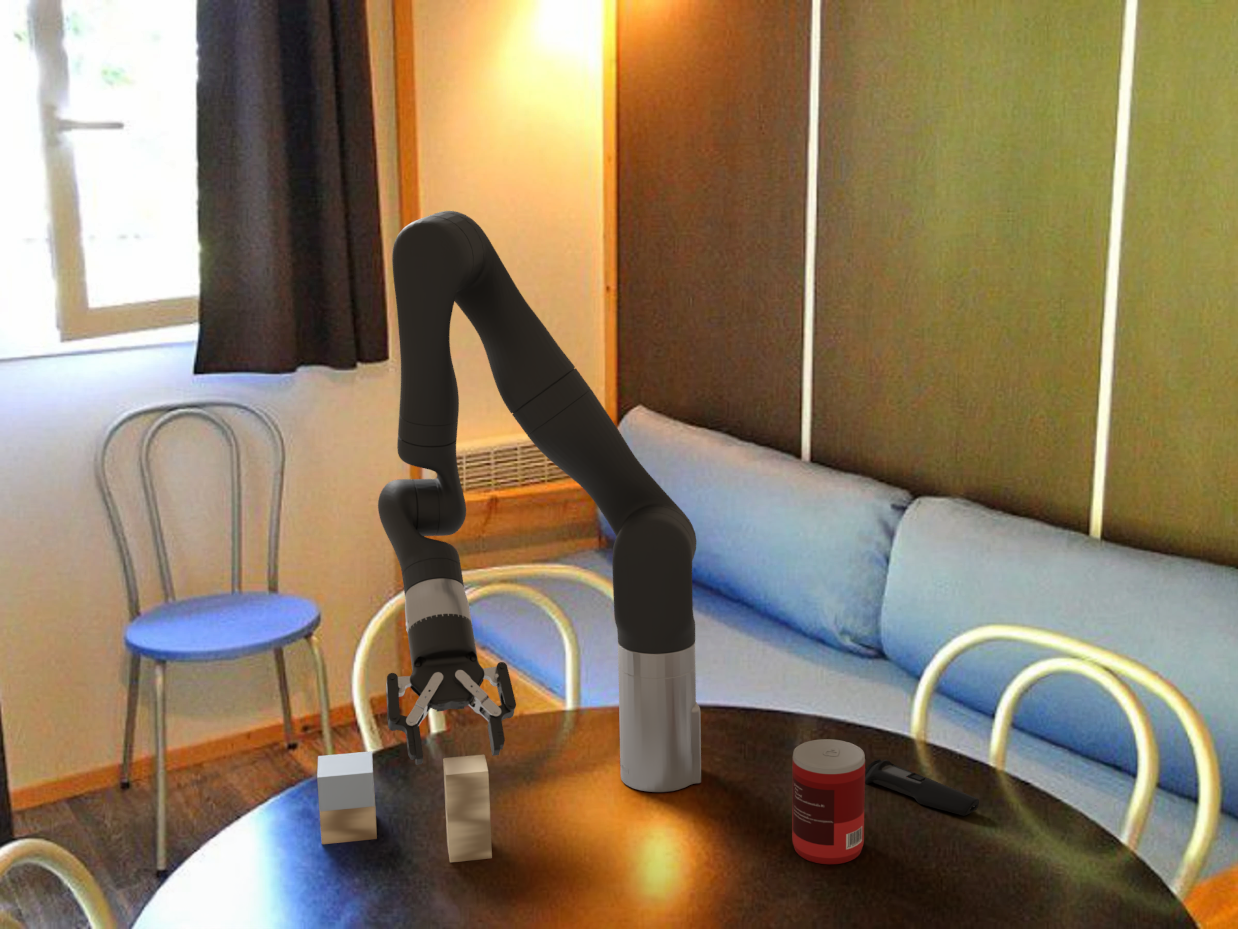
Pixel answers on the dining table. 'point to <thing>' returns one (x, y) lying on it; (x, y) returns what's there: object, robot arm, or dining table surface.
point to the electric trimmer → (920, 788)
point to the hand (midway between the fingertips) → (458, 757)
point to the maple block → (467, 808)
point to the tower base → (348, 825)
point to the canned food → (828, 801)
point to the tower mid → (345, 781)
